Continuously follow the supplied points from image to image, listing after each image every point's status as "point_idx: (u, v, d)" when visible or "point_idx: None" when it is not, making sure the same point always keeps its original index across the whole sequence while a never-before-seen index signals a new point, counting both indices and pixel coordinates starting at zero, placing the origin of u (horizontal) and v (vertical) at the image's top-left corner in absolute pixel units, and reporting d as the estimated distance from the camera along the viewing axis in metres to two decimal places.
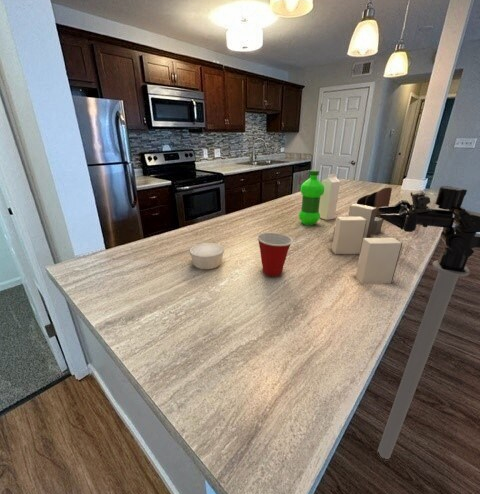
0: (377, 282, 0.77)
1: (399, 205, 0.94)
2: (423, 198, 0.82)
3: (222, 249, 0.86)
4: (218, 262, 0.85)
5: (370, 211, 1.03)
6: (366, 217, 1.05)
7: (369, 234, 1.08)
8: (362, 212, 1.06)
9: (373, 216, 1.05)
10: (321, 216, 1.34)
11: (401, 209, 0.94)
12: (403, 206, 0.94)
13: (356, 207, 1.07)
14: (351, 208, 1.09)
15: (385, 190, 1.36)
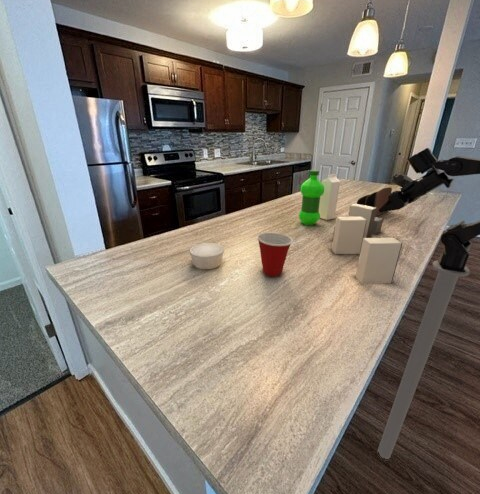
0: (377, 282, 0.77)
1: None
2: (396, 177, 0.92)
3: (222, 249, 0.86)
4: (218, 262, 0.85)
5: (370, 211, 1.03)
6: (366, 217, 1.05)
7: (369, 234, 1.08)
8: (362, 212, 1.06)
9: (373, 216, 1.05)
10: (321, 216, 1.34)
11: None
12: None
13: (356, 207, 1.07)
14: (351, 208, 1.09)
15: (385, 190, 1.36)
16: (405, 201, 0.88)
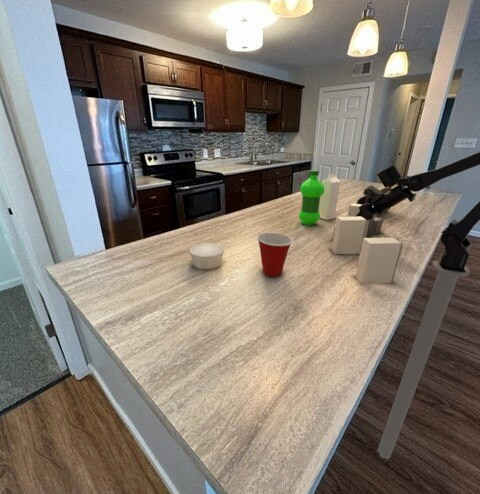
0: (377, 282, 0.77)
1: None
2: (366, 191, 1.00)
3: (222, 249, 0.86)
4: (218, 262, 0.85)
5: None
6: None
7: (369, 233, 1.08)
8: None
9: None
10: (321, 216, 1.34)
11: None
12: None
13: (355, 206, 1.07)
14: (350, 208, 1.09)
15: (385, 190, 1.36)
16: (373, 213, 0.97)
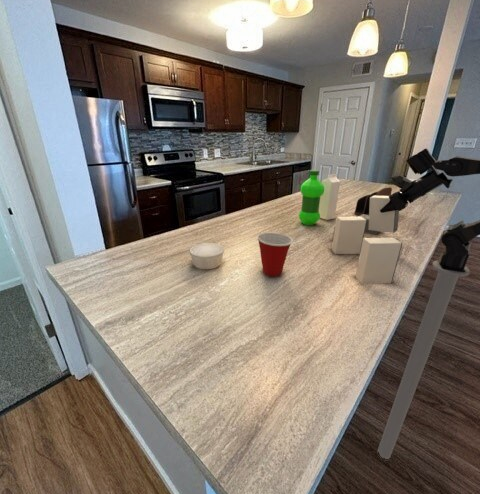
0: (377, 282, 0.77)
1: None
2: (395, 178, 0.90)
3: (222, 249, 0.86)
4: (218, 262, 0.85)
5: None
6: None
7: (396, 226, 0.98)
8: (385, 203, 0.97)
9: None
10: (321, 216, 1.34)
11: None
12: None
13: (377, 198, 0.98)
14: (371, 200, 1.00)
15: (385, 190, 1.36)
16: (406, 202, 0.87)
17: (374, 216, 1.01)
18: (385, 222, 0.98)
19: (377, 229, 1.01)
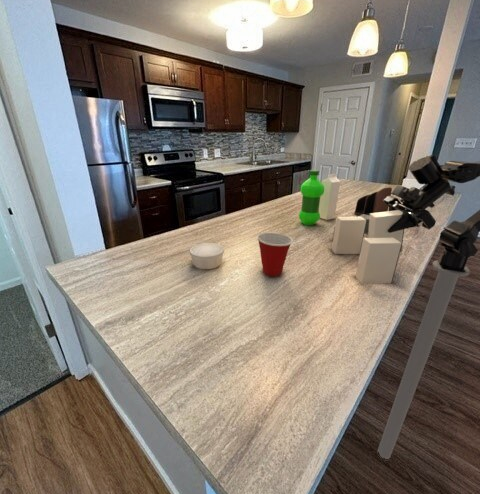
0: (377, 282, 0.77)
1: (393, 208, 0.84)
2: (411, 192, 0.75)
3: (222, 249, 0.86)
4: (218, 262, 0.85)
5: None
6: None
7: None
8: (393, 221, 0.80)
9: None
10: (321, 216, 1.34)
11: (398, 209, 0.84)
12: (397, 206, 0.84)
13: (384, 217, 0.80)
14: (377, 221, 0.80)
15: (385, 190, 1.36)
16: None
17: None
18: None
19: None
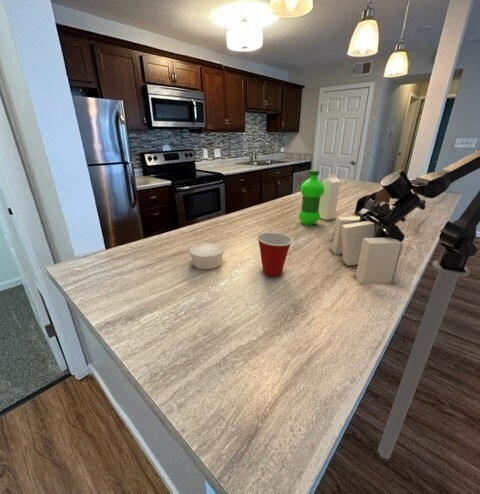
0: (377, 282, 0.77)
1: (363, 219, 0.87)
2: (382, 207, 0.76)
3: (222, 249, 0.86)
4: (218, 262, 0.85)
5: (372, 226, 0.83)
6: (369, 235, 0.83)
7: None
8: (363, 231, 0.83)
9: None
10: (321, 216, 1.34)
11: (368, 220, 0.88)
12: (367, 217, 0.87)
13: (354, 227, 0.83)
14: (348, 231, 0.83)
15: None
16: None
17: (352, 248, 0.85)
18: None
19: (357, 262, 0.86)
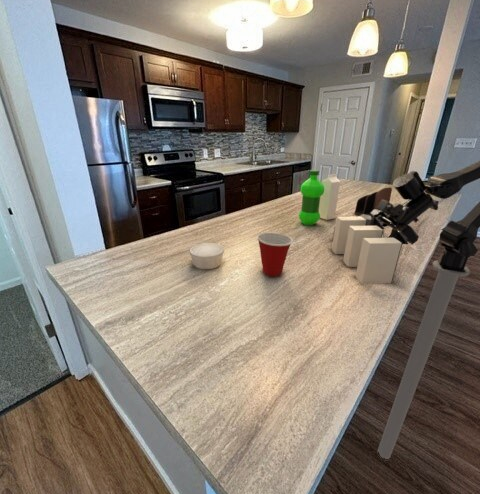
0: (377, 282, 0.77)
1: (375, 220, 0.88)
2: (395, 208, 0.76)
3: (222, 249, 0.86)
4: (218, 262, 0.85)
5: (380, 232, 0.82)
6: None
7: None
8: (370, 235, 0.82)
9: None
10: (321, 216, 1.34)
11: (379, 220, 0.88)
12: (378, 217, 0.88)
13: (363, 231, 0.82)
14: (356, 234, 0.82)
15: (385, 190, 1.36)
16: None
17: (356, 251, 0.84)
18: None
19: None
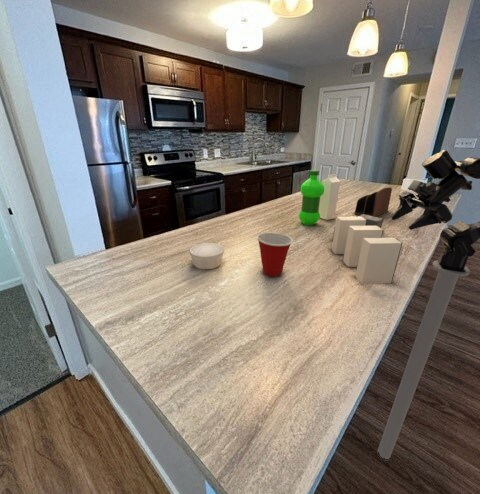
0: (377, 282, 0.77)
1: (405, 201, 0.88)
2: (429, 187, 0.77)
3: (222, 249, 0.86)
4: (218, 262, 0.85)
5: (380, 232, 0.82)
6: None
7: None
8: (370, 235, 0.82)
9: None
10: (321, 216, 1.34)
11: (409, 202, 0.88)
12: (408, 199, 0.88)
13: (363, 230, 0.82)
14: (356, 233, 0.82)
15: (385, 190, 1.36)
16: None
17: (356, 251, 0.84)
18: None
19: None
